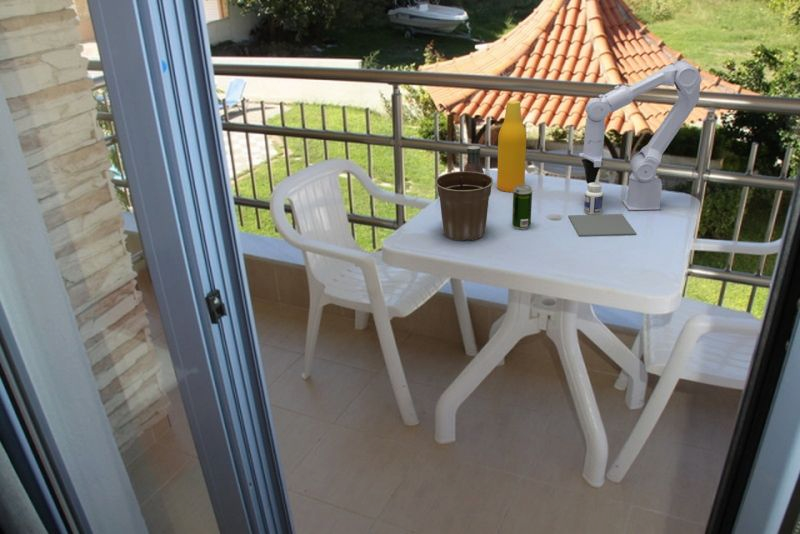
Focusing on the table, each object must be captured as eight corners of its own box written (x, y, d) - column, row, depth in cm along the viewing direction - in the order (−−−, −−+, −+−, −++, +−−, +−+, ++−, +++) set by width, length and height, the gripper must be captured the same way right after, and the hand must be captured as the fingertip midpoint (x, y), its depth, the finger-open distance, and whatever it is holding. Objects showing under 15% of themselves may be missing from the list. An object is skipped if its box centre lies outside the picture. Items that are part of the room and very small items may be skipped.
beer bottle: (496, 183, 237) (498, 99, 224) (523, 183, 236) (527, 98, 224) (497, 192, 229) (499, 105, 216) (525, 192, 228) (529, 104, 215)
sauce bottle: (482, 213, 212) (483, 150, 204) (462, 212, 214) (462, 150, 205) (483, 205, 218) (484, 144, 210) (464, 205, 219) (464, 144, 211)
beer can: (534, 228, 200) (535, 189, 195) (517, 231, 199) (519, 191, 194) (524, 221, 205) (526, 183, 200) (508, 224, 203) (510, 186, 198)
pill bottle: (602, 209, 211) (604, 182, 208) (600, 215, 207) (603, 187, 203) (584, 208, 213) (586, 181, 209) (582, 214, 209) (585, 186, 205)
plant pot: (476, 248, 189) (477, 193, 182) (425, 238, 197) (424, 184, 190) (501, 228, 201) (503, 175, 194) (452, 219, 209) (452, 168, 202)
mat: (622, 215, 207) (622, 213, 206) (636, 235, 193) (636, 233, 193) (568, 216, 207) (568, 215, 207) (578, 236, 194) (579, 234, 193)
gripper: (575, 133, 213) (572, 175, 219) (585, 146, 200) (582, 191, 206) (598, 133, 212) (595, 175, 218) (610, 146, 199) (606, 190, 205)
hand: (590, 182), depth 212 cm, fingers closed
